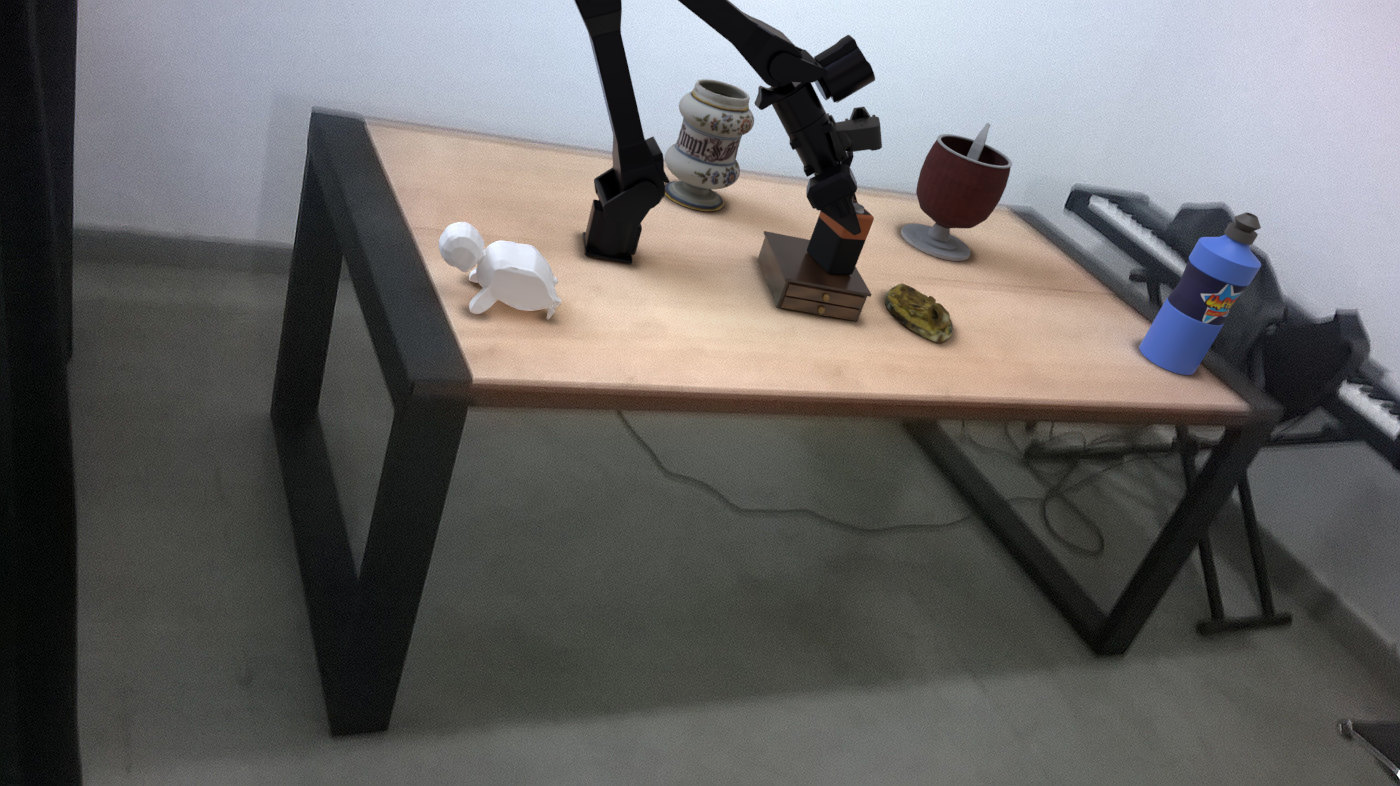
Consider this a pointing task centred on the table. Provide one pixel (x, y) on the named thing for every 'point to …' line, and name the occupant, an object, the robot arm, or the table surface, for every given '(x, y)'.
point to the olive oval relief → (919, 313)
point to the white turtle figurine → (500, 270)
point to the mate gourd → (957, 192)
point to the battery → (839, 242)
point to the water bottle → (1203, 297)
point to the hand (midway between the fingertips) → (856, 220)
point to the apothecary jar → (708, 144)
